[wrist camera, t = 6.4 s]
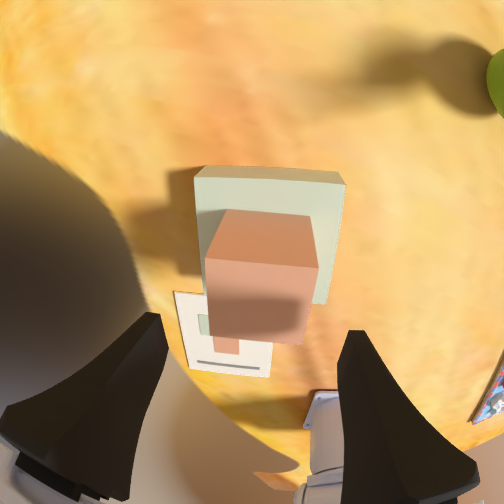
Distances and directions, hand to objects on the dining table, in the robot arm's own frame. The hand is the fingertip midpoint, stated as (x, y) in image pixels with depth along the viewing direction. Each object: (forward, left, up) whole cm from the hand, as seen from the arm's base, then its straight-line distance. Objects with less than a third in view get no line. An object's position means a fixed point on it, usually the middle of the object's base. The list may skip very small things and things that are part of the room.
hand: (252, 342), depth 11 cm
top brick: (0, 0, -7) cm, 7 cm away
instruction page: (-11, +3, -10) cm, 15 cm away
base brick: (0, 0, -10) cm, 10 cm away
